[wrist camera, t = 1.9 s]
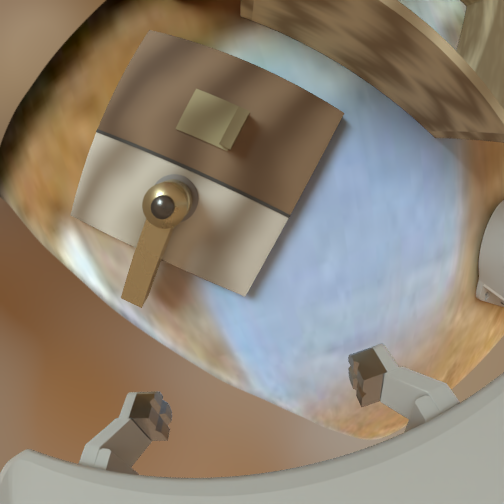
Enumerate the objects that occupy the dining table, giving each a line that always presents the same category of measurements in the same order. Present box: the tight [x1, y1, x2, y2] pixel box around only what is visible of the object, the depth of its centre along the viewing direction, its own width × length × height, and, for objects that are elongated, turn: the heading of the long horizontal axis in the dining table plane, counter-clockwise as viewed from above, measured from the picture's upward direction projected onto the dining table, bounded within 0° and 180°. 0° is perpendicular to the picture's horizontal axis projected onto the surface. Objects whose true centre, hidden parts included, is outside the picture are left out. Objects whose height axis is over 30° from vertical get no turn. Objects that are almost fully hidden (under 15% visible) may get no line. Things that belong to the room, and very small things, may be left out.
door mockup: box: [71, 30, 344, 296], centre depth 22 cm, size 20×20×3 cm
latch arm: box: [121, 179, 193, 308], centre depth 22 cm, size 12×4×4 cm, turn 153°
